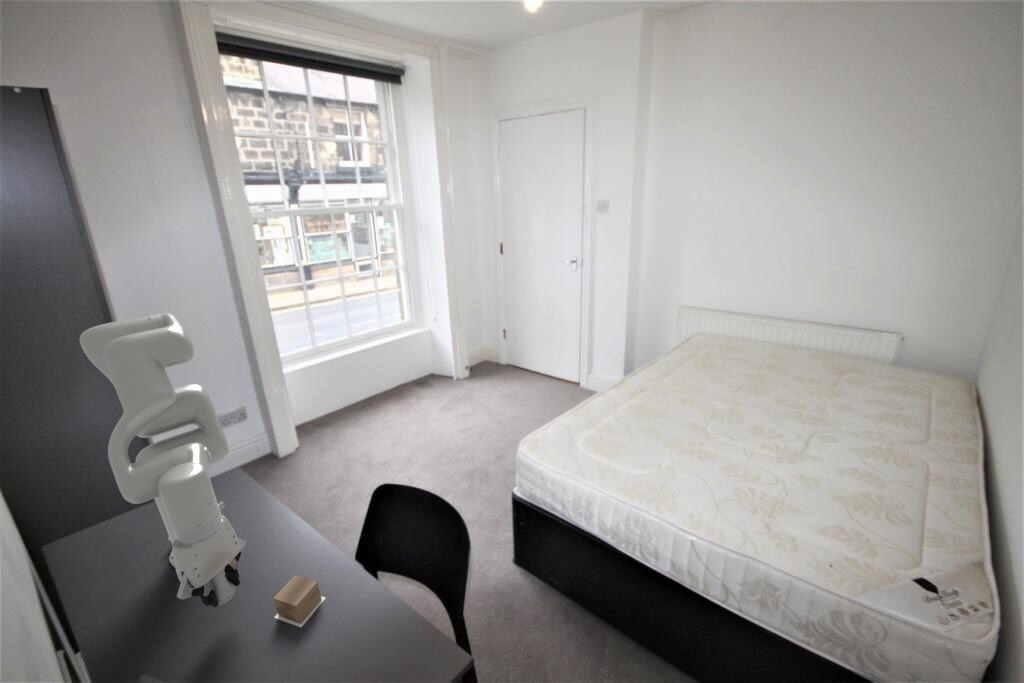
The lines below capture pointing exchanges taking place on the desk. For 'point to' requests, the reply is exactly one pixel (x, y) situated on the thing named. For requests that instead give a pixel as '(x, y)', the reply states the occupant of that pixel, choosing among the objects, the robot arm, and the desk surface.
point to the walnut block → (297, 599)
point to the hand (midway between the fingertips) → (222, 592)
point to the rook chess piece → (222, 587)
